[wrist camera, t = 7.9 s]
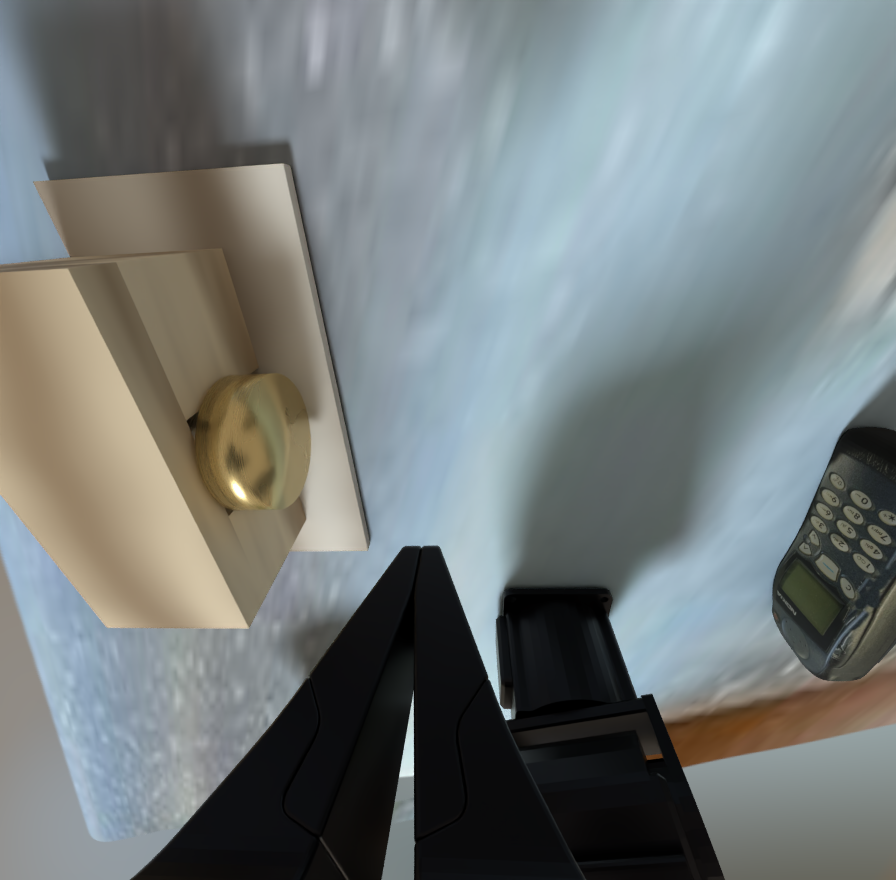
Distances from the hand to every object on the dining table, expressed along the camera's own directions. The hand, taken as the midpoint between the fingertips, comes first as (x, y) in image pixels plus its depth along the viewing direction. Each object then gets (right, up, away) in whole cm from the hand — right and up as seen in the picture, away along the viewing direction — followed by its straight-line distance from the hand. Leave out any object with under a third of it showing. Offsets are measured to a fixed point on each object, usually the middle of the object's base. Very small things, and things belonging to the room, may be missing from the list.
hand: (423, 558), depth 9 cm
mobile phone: (+21, -3, +12) cm, 24 cm away
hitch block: (-9, +4, +9) cm, 14 cm away
